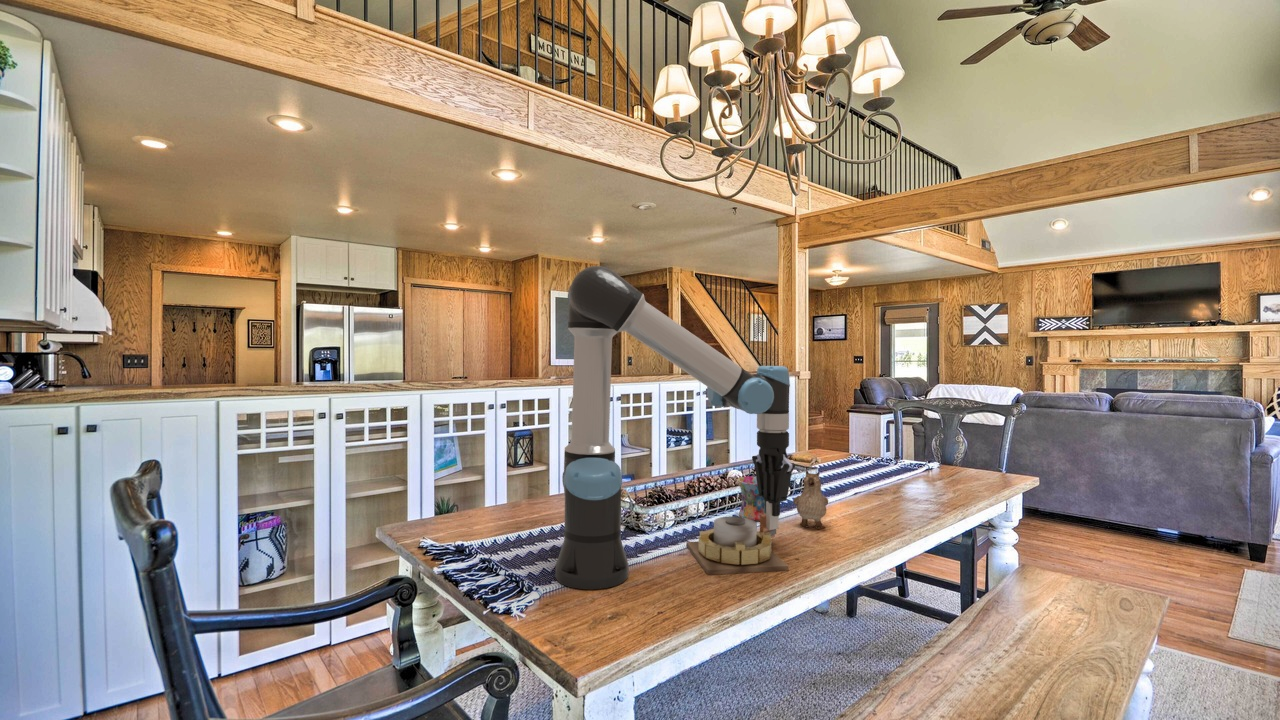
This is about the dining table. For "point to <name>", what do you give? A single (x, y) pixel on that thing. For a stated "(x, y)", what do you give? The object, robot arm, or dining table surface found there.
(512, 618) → the dining table surface
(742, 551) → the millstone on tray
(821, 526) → the figurine
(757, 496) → the mug
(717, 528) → the housing
